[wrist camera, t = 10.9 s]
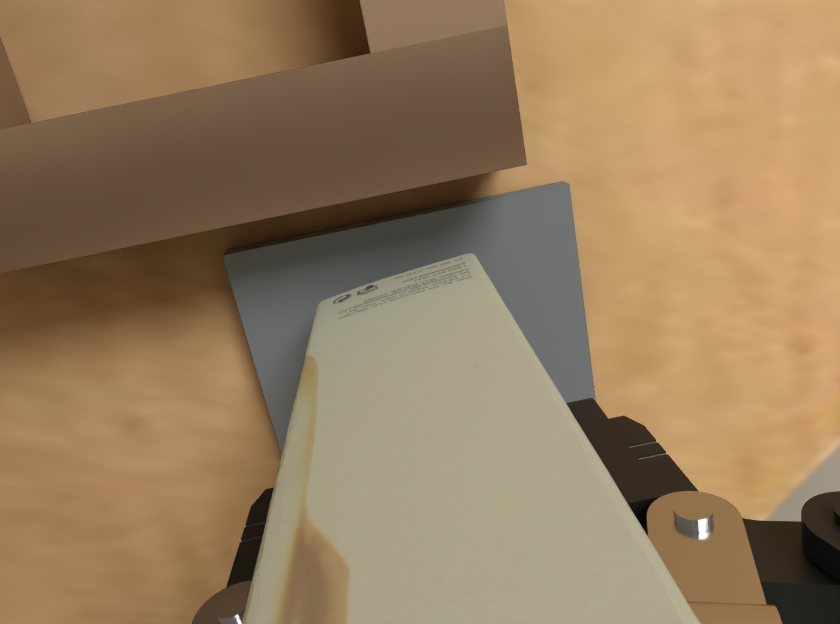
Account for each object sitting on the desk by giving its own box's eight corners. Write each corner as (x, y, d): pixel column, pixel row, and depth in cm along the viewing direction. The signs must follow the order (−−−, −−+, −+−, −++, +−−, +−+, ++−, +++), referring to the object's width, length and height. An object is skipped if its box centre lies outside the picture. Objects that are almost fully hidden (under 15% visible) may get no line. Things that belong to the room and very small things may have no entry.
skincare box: (311, 299, 16) (147, 780, 5) (476, 245, 16) (722, 609, 5) (392, 505, 18) (416, 1200, 7) (540, 459, 18) (823, 1090, 7)
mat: (227, 250, 17) (222, 255, 17) (563, 181, 17) (569, 184, 17) (310, 533, 20) (308, 546, 19) (599, 473, 20) (605, 484, 19)
